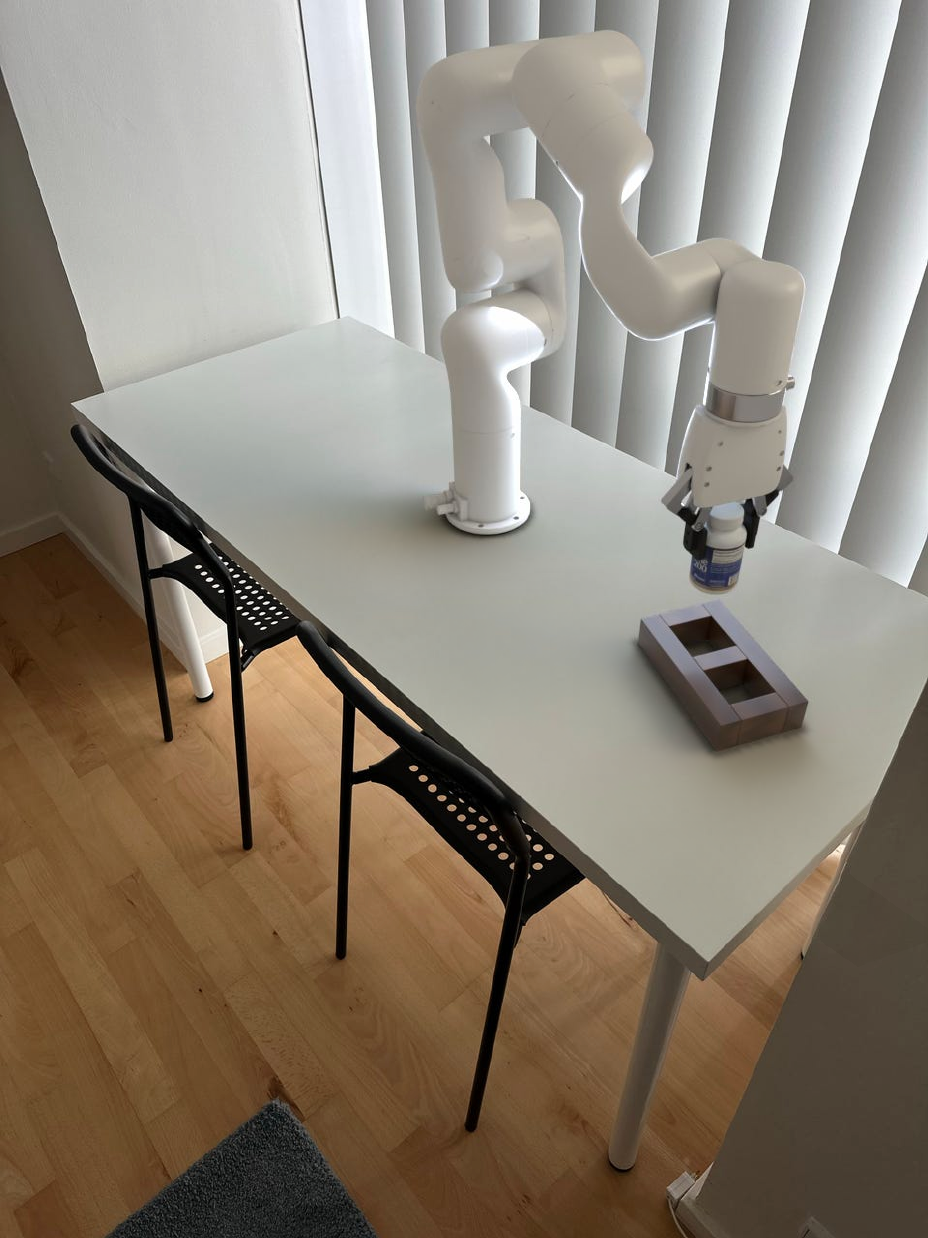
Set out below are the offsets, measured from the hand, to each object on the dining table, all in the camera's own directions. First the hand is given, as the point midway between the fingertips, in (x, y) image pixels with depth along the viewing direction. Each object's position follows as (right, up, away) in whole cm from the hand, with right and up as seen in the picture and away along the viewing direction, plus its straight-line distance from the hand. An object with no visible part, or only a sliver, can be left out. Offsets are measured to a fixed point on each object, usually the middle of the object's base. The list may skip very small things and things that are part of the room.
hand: (718, 546), depth 104 cm
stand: (+2, -16, +8) cm, 18 cm away
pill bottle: (0, -4, +3) cm, 5 cm away
